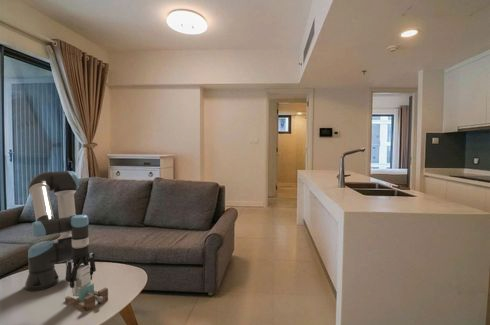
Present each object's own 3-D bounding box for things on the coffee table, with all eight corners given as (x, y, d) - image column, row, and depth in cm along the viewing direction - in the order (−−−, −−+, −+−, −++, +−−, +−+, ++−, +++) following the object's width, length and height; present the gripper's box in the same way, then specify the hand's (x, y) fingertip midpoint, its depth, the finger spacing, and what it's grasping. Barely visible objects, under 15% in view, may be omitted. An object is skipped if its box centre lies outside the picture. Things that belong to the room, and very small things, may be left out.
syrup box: (90, 291, 141) (90, 264, 140) (81, 297, 135) (81, 269, 135) (81, 290, 142) (81, 263, 142) (72, 296, 136) (71, 267, 136)
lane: (65, 301, 136) (64, 289, 136) (86, 291, 146) (86, 280, 146) (86, 311, 128) (86, 299, 128) (108, 299, 138) (107, 288, 137)
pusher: (79, 303, 134) (78, 289, 134) (92, 296, 140) (92, 283, 140) (94, 310, 128) (94, 296, 128) (108, 302, 135) (108, 289, 134)
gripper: (64, 253, 127) (65, 301, 128) (103, 241, 144) (104, 283, 146) (55, 250, 131) (56, 297, 132) (94, 239, 148) (95, 280, 149)
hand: (81, 289), depth 139 cm, fingers closed on syrup box, 7 cm apart
